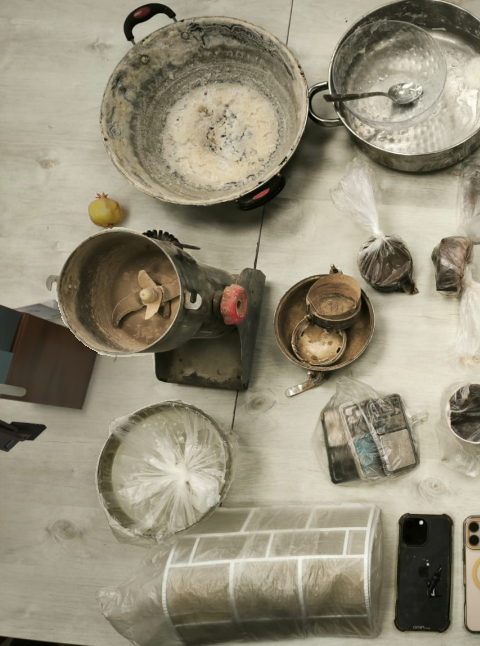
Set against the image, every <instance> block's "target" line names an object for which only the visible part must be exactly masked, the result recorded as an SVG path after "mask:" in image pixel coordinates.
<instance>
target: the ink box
mask: <svg viewBox="0 0 480 646" xmlns="http://www.w3.org/2000/svg"><path fill="white" fill-rule="evenodd" d="M57 301H58V300H55V299H52V300H51V299H50V300H47V301H42V302H41V301H40V302H37V303H33V304H29V305H24V306H20V307H15V308H13V309H14V310H17V311H20V312H26V313H29V314H32V315H34V316H37V317H40V318H43V319H46V320H50V319H55V318H59V317H63V316H62V315H61V313H60V310H59V307H58V302H59V301H58V302H57Z"/></svg>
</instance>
